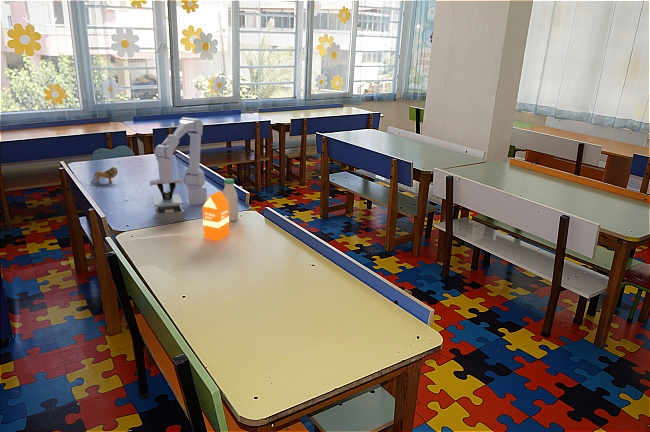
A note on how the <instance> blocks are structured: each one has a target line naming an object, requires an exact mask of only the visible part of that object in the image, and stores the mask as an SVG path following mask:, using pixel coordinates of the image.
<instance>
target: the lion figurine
mask: <svg viewBox="0 0 650 432" xmlns="http://www.w3.org/2000/svg"><path fill="white" fill-rule="evenodd" d="M118 173H119V171H118V168H117V167H115V166H112V167H111V168H109V169H107V170H106V171H101V170H97V171H95V172H94V175H93V180H91V183H93V182H97V183H98V184H102V182H101V181H100V178H103V179H108V183H109V184H113V180H112V178H113V179H114V178H115V177H116V176H117V175H118Z"/></svg>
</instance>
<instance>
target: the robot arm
mask: <svg viewBox="0 0 650 432" xmlns="http://www.w3.org/2000/svg"><path fill="white" fill-rule="evenodd" d="M203 128H204V123H203V121H202V120H201V119H200V118H192V117H185V116H183V117H181V118H180V120H179V121H178V126H177V127H176V129H175V130H174V132H173V134H168V135H167V137H166V138H165V139H164V141H162V142H161V144H158V145H156V146H155V148H154V152H153V154H154V157H156V158H155V160H156V161H157V165H158V167H157V168H158V177H159V178H158V179H152V180H149V186H150V187H151V186H157V189H158V190H159V192H160V193H161V196H162V198H163V200H164V199H165V198H164V192H165V191H164V188H165V187H164V185H168V184H169V192H170V199H172V195H174V192H175V188H176V184H184V185H185V187H186V188H187V200H186V202H187V204H188V205H189V206H191V205H192V206H193V205H204V204H205V203H206V201H207V200H208V193H207V187H206V185H205V183H206V176H205V172H204V170H202V168H201V167H200V166H201V164H200V163H201V143H202V135H203V133H204V132H203V130H204V129H203ZM186 134H188V136H189V157H188V158H189V160H188V161H189V163H188V168H187V169H185V170H184V173H183V177H182V178H181V177H180V178H179V177H173V172H172V171H173V170H172V159H171V158H172V157H173V155H174V151H175V149H176V147H177V146H178V145H179V144H180V139H181V138H182V137H183V136H184V135H186Z"/></svg>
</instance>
